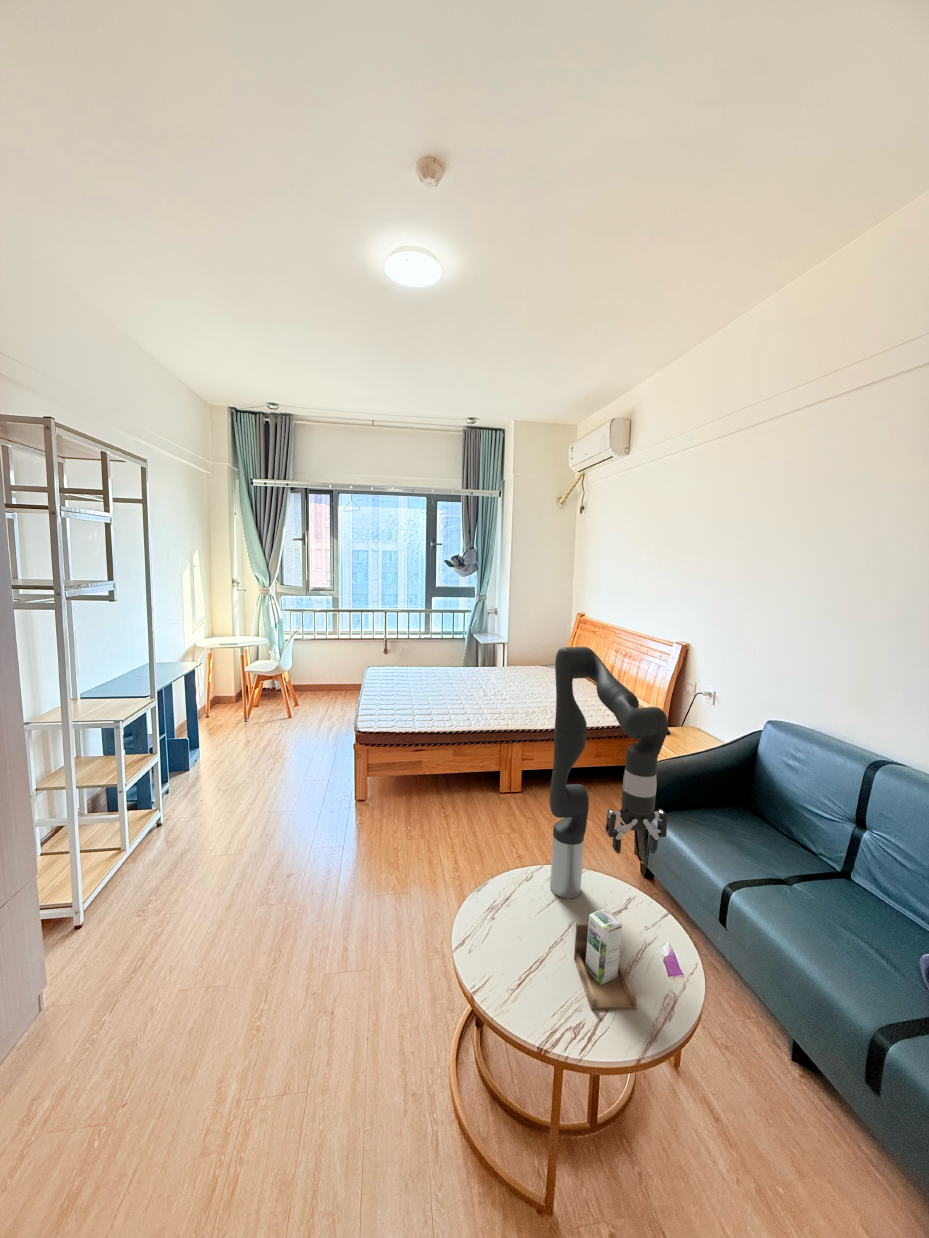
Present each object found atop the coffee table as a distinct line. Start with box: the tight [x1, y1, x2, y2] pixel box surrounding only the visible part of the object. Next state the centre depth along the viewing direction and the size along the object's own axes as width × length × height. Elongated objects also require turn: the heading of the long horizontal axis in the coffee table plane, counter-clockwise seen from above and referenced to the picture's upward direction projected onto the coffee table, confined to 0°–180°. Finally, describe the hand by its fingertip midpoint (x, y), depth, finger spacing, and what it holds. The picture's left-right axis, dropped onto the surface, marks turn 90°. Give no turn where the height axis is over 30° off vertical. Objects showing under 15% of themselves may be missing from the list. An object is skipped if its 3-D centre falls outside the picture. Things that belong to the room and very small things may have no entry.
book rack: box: [573, 921, 637, 1011], centre depth 116 cm, size 14×10×10 cm
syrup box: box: [585, 908, 623, 985], centre depth 118 cm, size 6×6×14 cm
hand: (634, 851), depth 119 cm, fingers open, 8 cm apart
